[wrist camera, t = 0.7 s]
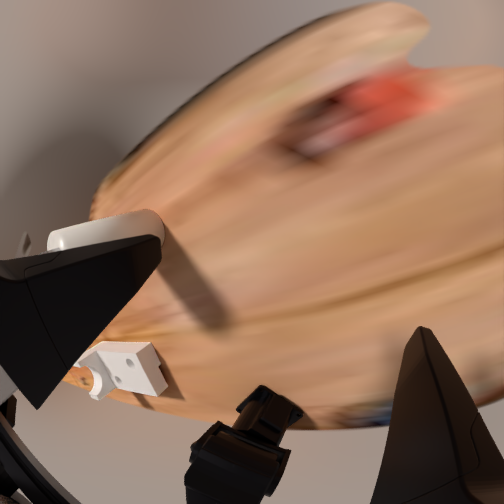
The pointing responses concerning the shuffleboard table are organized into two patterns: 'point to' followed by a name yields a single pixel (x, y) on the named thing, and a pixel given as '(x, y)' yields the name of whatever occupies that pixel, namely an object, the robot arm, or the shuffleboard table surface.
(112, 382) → the bracket
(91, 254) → the robot arm
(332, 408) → the shuffleboard table surface
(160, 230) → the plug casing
